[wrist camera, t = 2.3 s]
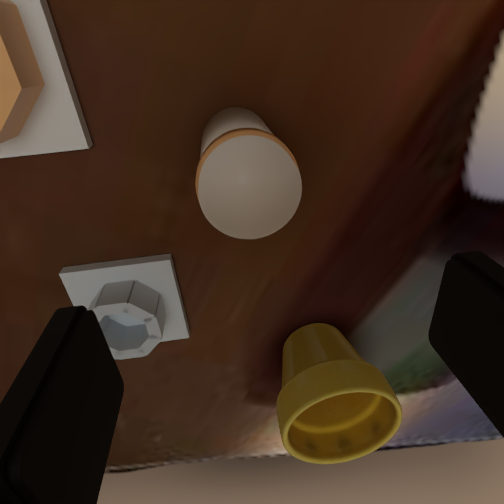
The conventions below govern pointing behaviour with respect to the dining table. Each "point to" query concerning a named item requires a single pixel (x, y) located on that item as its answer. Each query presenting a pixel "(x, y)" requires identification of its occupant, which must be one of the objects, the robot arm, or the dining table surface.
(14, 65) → the wide socket
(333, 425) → the plant pot
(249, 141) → the beige peg
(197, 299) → the dining table surface
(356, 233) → the dining table surface
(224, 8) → the dining table surface
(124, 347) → the narrow socket
